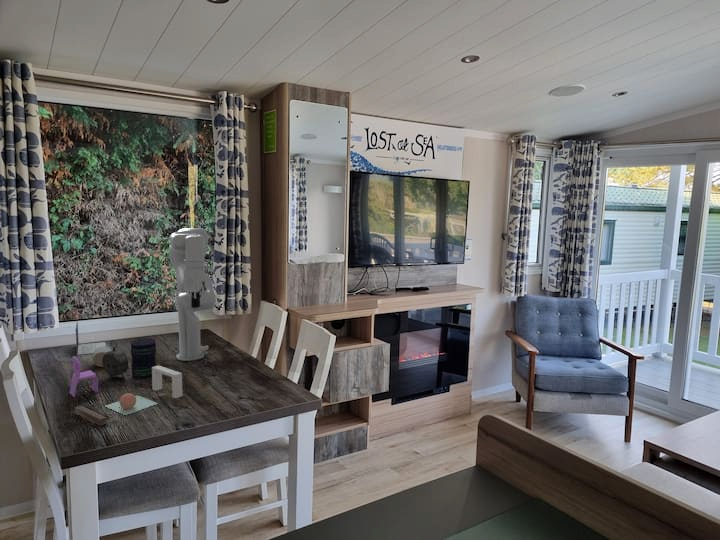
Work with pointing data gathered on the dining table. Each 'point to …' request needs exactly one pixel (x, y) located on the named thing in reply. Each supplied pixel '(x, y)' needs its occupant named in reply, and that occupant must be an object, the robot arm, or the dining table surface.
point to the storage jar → (143, 358)
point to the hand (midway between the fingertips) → (195, 307)
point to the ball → (127, 401)
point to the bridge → (175, 375)
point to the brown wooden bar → (90, 415)
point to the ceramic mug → (100, 355)
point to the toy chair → (81, 377)
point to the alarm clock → (115, 362)
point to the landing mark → (140, 404)
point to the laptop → (87, 345)
